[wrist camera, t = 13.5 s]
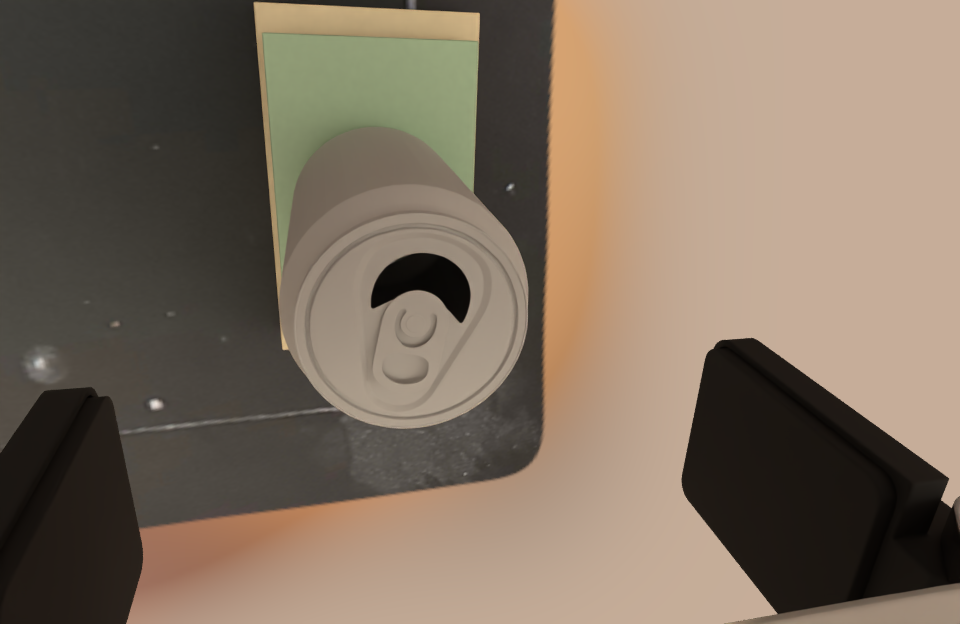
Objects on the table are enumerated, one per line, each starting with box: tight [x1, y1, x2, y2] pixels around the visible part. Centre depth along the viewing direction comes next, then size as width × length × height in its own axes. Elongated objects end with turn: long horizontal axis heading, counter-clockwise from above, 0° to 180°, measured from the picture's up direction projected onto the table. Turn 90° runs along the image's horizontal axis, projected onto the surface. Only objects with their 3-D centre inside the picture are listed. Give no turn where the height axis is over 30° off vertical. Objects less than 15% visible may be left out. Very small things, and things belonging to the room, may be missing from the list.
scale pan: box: [262, 32, 479, 278], centre depth 27 cm, size 12×8×1 cm, turn 178°
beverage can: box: [279, 127, 528, 428], centre depth 21 cm, size 6×6×12 cm
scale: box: [254, 2, 480, 350], centre depth 29 cm, size 14×8×3 cm, turn 178°
